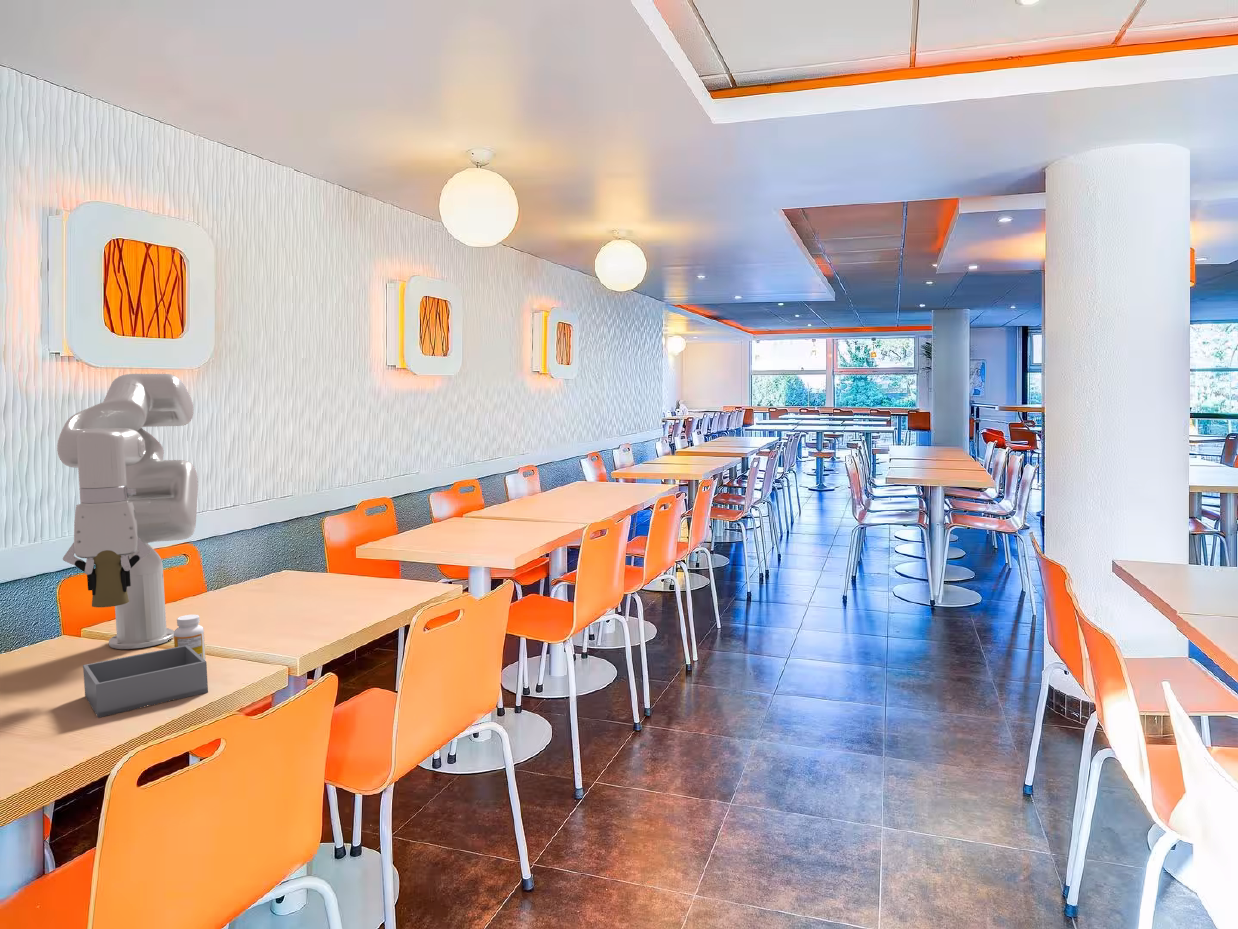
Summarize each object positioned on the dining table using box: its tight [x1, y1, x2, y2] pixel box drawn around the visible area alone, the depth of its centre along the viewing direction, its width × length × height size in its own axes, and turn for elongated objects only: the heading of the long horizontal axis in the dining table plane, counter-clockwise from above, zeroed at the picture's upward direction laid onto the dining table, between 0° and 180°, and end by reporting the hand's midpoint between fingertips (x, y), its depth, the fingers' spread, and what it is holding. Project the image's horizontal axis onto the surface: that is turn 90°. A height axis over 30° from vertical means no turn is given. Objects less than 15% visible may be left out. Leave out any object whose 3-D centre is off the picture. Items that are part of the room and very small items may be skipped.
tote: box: [82, 645, 209, 719], centre depth 147 cm, size 13×17×6 cm
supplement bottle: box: [173, 614, 206, 661], centre depth 164 cm, size 5×5×10 cm
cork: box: [91, 550, 129, 608], centre depth 153 cm, size 6×6×11 cm
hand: (109, 591), depth 153 cm, fingers closed on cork, 4 cm apart
